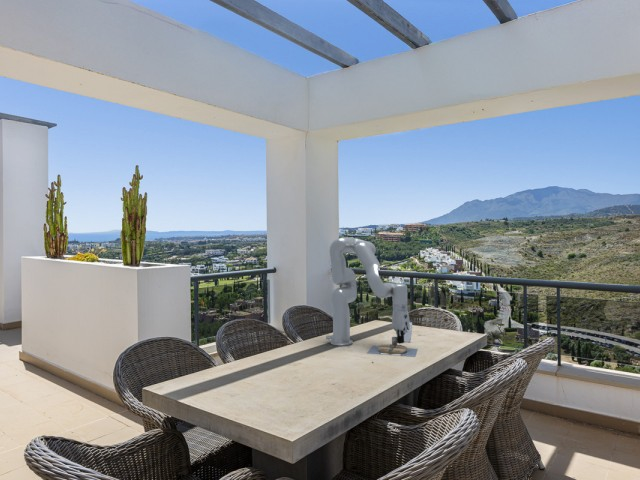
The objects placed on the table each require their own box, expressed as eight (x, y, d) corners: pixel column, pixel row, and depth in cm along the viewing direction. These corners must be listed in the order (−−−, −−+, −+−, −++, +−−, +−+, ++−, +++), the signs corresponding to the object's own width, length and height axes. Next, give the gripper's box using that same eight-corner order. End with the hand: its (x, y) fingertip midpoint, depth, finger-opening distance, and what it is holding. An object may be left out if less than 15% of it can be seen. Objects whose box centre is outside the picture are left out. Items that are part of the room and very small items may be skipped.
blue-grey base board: (366, 356, 215) (366, 352, 215) (372, 348, 232) (372, 345, 232) (415, 360, 208) (415, 356, 208) (418, 351, 224) (418, 348, 224)
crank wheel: (404, 355, 210) (404, 344, 210) (375, 353, 214) (375, 342, 215) (408, 348, 224) (408, 337, 224) (381, 346, 229) (381, 335, 229)
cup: (408, 346, 237) (407, 324, 237) (393, 343, 242) (393, 322, 242) (415, 343, 244) (415, 322, 244) (400, 341, 249) (400, 320, 249)
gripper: (414, 309, 218) (415, 345, 218) (398, 305, 232) (398, 339, 232) (402, 310, 215) (402, 346, 215) (386, 306, 229) (386, 340, 229)
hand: (400, 343), depth 223 cm, fingers closed
